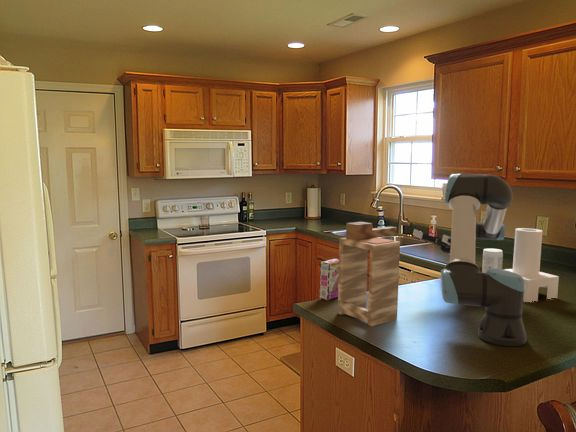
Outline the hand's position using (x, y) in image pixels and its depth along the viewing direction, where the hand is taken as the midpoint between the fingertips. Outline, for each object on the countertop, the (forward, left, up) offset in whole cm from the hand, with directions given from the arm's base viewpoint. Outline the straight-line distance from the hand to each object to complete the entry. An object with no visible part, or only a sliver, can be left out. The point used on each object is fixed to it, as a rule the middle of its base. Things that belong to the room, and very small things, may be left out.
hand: (428, 234), depth 198 cm
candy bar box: (+31, +25, -30) cm, 50 cm away
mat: (0, +31, 0) cm, 31 cm away
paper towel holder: (-17, -50, -30) cm, 61 cm away
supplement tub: (+9, -68, -30) cm, 75 cm away
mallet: (+8, +24, 0) cm, 26 cm away
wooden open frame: (+4, +31, -30) cm, 43 cm away
